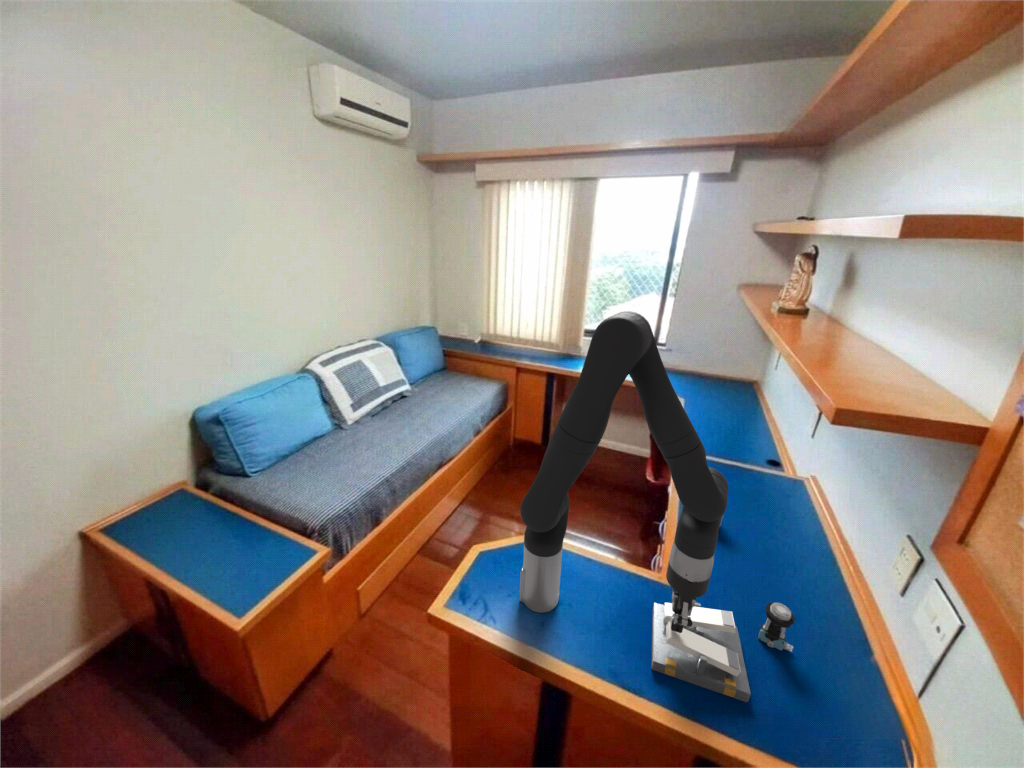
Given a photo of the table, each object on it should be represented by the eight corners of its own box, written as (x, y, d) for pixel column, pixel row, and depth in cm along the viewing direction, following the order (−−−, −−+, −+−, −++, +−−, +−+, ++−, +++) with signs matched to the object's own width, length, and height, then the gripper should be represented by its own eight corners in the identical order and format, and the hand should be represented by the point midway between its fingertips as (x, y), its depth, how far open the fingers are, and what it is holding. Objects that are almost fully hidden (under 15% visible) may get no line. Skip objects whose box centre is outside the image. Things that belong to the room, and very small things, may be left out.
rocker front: (666, 642, 80) (669, 637, 79) (665, 625, 83) (669, 620, 83) (737, 676, 77) (741, 671, 76) (733, 657, 80) (737, 652, 79)
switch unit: (651, 670, 81) (656, 647, 79) (652, 610, 94) (656, 589, 92) (747, 703, 75) (756, 680, 73) (734, 634, 89) (741, 613, 86)
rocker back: (665, 622, 87) (664, 616, 87) (665, 607, 91) (664, 601, 90) (735, 633, 82) (735, 626, 82) (732, 617, 86) (732, 611, 85)
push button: (792, 643, 87) (804, 611, 84) (790, 662, 83) (803, 629, 80) (758, 626, 91) (768, 594, 87) (755, 643, 87) (765, 611, 83)
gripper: (668, 536, 82) (657, 597, 87) (670, 585, 70) (656, 652, 76) (707, 545, 79) (693, 608, 85) (715, 597, 67) (698, 665, 73)
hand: (675, 628), depth 80 cm, fingers closed
